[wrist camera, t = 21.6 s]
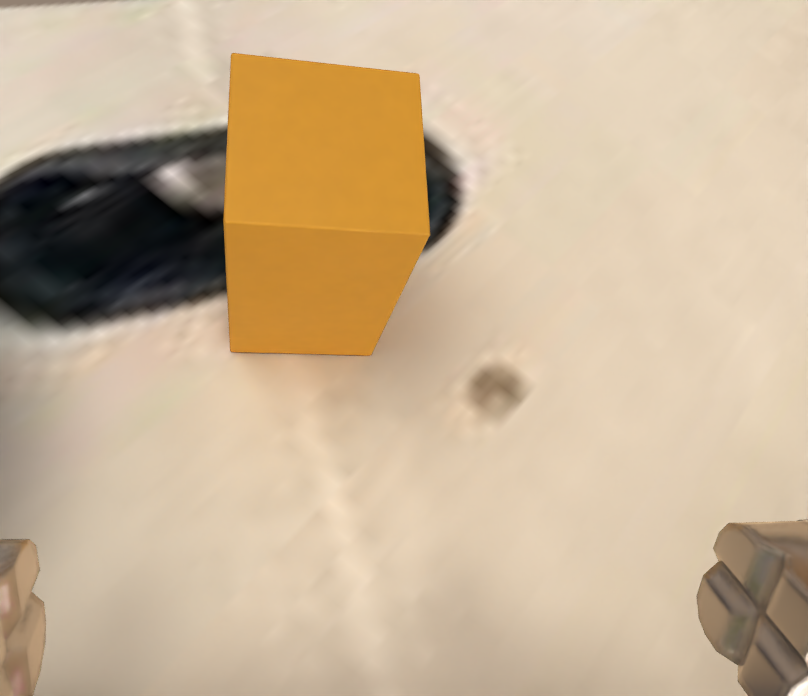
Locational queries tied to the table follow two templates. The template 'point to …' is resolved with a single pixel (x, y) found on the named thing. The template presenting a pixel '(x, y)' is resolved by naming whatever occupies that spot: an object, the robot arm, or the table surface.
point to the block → (320, 203)
